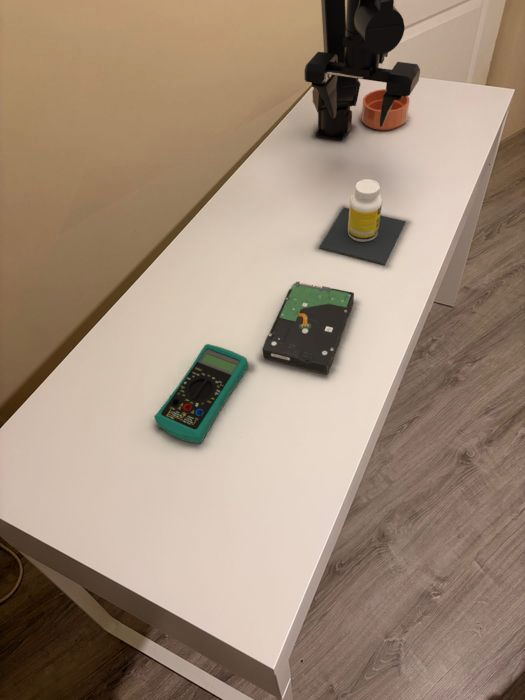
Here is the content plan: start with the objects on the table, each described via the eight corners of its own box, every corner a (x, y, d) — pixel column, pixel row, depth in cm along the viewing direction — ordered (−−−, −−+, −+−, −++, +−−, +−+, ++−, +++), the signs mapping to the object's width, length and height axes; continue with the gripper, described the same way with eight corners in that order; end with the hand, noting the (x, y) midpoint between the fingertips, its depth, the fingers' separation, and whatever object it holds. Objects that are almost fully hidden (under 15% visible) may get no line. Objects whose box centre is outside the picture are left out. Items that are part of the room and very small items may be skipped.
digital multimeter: (155, 429, 69) (149, 418, 67) (209, 351, 77) (205, 339, 74) (199, 449, 67) (194, 439, 64) (250, 366, 74) (248, 355, 72)
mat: (319, 248, 88) (319, 246, 88) (343, 208, 94) (343, 207, 94) (384, 265, 84) (384, 263, 84) (405, 222, 90) (405, 221, 90)
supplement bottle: (380, 242, 87) (386, 195, 80) (349, 243, 88) (352, 197, 80) (376, 222, 91) (381, 175, 83) (346, 224, 91) (349, 177, 83)
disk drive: (329, 376, 72) (354, 302, 80) (329, 365, 70) (355, 291, 78) (262, 360, 75) (292, 290, 83) (261, 349, 73) (292, 278, 80)
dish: (355, 127, 111) (356, 107, 108) (370, 106, 116) (371, 86, 113) (398, 134, 108) (401, 114, 104) (412, 112, 113) (415, 92, 110)
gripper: (437, 11, 79) (420, 107, 92) (328, 1, 85) (327, 92, 98) (416, 41, 74) (402, 139, 86) (302, 29, 80) (304, 121, 92)
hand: (357, 121), depth 91 cm, fingers open, 9 cm apart
